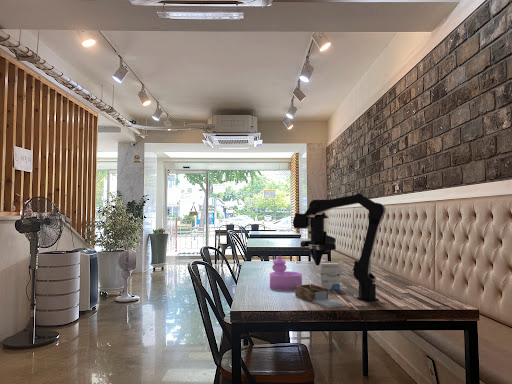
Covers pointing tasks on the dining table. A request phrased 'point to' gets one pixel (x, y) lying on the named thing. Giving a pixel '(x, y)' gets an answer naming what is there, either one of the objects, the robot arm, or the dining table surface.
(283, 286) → the container set
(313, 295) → the case
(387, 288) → the dining table surface
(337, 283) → the ink box
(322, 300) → the lid
